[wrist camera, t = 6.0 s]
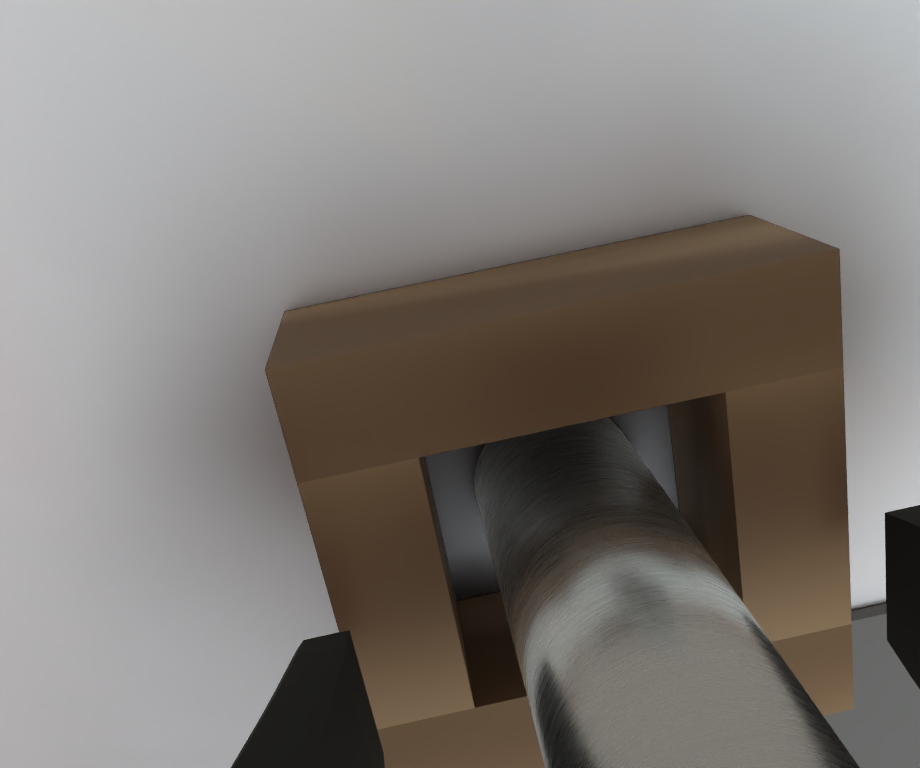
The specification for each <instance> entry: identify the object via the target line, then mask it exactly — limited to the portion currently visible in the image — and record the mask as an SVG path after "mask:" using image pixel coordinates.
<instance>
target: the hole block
mask: <svg viewBox="0 0 920 768" xmlns="http://www.w3.org/2000/svg"><path fill="white" fill-rule="evenodd" d="M265 371H266V375H267V378H268V382H269V386H270V389H271V393H272V396H273V400H274V403H275V407H276V410H277V414H278V417H279V421H280V424H281V428H282V432H283V435H284V439H285V442H286V446H287V449H288V453H289V456H290V460H291V463H292V467H293V470H294V474H295V477H296V481H297V485H298V488H299V492H300V495H301V499H302V502H303V506H304V509H305V513H306V516H307V520H308V523H309V527H310V531H311V534H312V538H313V541H314V545H315V548H316V552H317V555H318V559H319V562H320V566H321V569H322V573H323V576H324V580H325V584H326V587H327V591H328V594H329V598H330V601H331V605H332V608H333V612H334V615H335V619H336V622H337V626H338V630H339V632H343V631H348V630H350V633H351V637H352V641H353V644H354V648H355V651H356V655H357V659H358V662H359V666H360V669H361V673H362V677H363V680H364V684H365V688H366V691H367V695H368V698H369V702H370V706H371V709H372V713H373V716H374V720H375V724H376V727H377V731H378V734H379V738H380V742H381V745H382V749H383V752H384V763H385V768H545V764H544V761H543V757H542V753H541V749H540V745H539V741H538V737H537V733H536V729H535V725H534V721H533V718H532V714H531V710H530V706H529V702H528V698H527V694H526V690H525V686H524V682H523V678H522V675H521V671H520V667H519V663H518V659H517V655H516V651H515V647H514V643H513V639H512V635H511V632H510V628H509V624H508V620H507V616H506V612H505V608H504V604H503V600H502V596H501V592H496V593H492V594H487V595H483V596H478V597H473V598H469V599H464V600H460V601H457V600H456V596H455V591H454V587H453V582H452V578H451V573H450V569H449V564H448V560H447V555H446V551H445V546H444V542H443V537H442V533H441V528H440V524H439V519H438V515H437V510H436V506H435V501H434V497H433V492H432V488H431V483H430V479H429V474H428V470H427V465H426V461H425V456H429V455H434V454H438V453H443V452H448V451H453V450H457V449H462V448H467V447H471V446H476V445H481V444H485V443H490V442H495V441H499V440H504V439H509V438H513V437H518V436H523V435H527V434H532V433H537V432H541V431H546V430H551V429H556V428H560V427H565V426H570V425H574V424H579V423H584V422H588V421H593V420H598V419H602V418H607V417H612V416H616V415H621V414H626V413H630V412H635V411H640V410H644V409H649V408H654V407H659V406H663V405H668V411H669V421H670V430H671V439H672V448H673V457H674V466H675V475H676V484H677V493H678V502H679V511H680V514H681V516H682V517H683V518H684V520H685V521H686V523H687V524H688V525H689V527H690V528H691V530H692V531H693V532H694V534H695V535H696V537H697V538H698V540H699V541H700V542H701V544H702V545H703V547H704V548H705V549H706V551H707V552H708V554H709V555H710V556H711V558H712V559H713V561H714V562H715V564H716V565H717V566H718V568H719V569H720V571H721V572H722V573H723V575H724V576H725V578H726V579H727V580H728V582H729V583H730V585H731V586H732V588H733V589H734V590H735V592H736V593H737V595H738V596H739V597H740V599H741V600H742V602H743V603H744V605H745V606H746V607H747V609H748V610H749V612H750V613H751V614H752V616H753V617H754V619H755V620H756V621H757V623H758V624H759V626H760V627H761V629H762V630H763V631H764V633H765V634H766V636H767V637H768V638H769V640H770V641H771V643H772V644H773V645H774V647H775V648H776V650H777V651H778V653H779V654H780V655H781V657H782V658H783V660H784V661H785V662H786V664H787V665H788V667H789V668H790V669H791V671H792V672H793V674H794V675H795V677H796V678H797V679H798V681H799V682H800V684H801V685H802V686H803V688H804V689H805V691H806V692H807V694H808V695H809V696H810V698H811V699H812V701H813V702H814V703H815V705H816V706H817V708H818V709H819V710H820V712H821V713H822V715H823V716H826V715H830V714H835V713H839V712H843V711H848V710H852V709H854V685H853V654H852V623H851V592H850V562H849V531H848V500H847V469H846V439H845V408H844V377H843V346H842V316H841V285H840V254H839V249H838V248H836V247H833V246H830V245H828V244H825V243H822V242H820V241H817V240H814V239H812V238H809V237H806V236H804V235H801V234H799V233H796V232H793V231H791V230H788V229H785V228H783V227H780V226H777V225H775V224H772V223H769V222H767V221H764V220H762V219H759V218H756V217H754V216H751V215H747V216H742V217H737V218H733V219H728V220H723V221H718V222H713V223H709V224H704V225H699V226H694V227H689V228H684V229H680V230H675V231H670V232H665V233H660V234H656V235H651V236H646V237H641V238H636V239H631V240H627V241H622V242H617V243H612V244H607V245H603V246H598V247H593V248H588V249H583V250H578V251H574V252H569V253H564V254H559V255H554V256H549V257H545V258H540V259H535V260H530V261H525V262H521V263H516V264H511V265H506V266H501V267H496V268H492V269H487V270H482V271H477V272H472V273H468V274H463V275H458V276H453V277H448V278H443V279H439V280H434V281H429V282H424V283H419V284H415V285H410V286H405V287H400V288H395V289H390V290H386V291H381V292H376V293H371V294H366V295H362V296H357V297H352V298H347V299H342V300H337V301H333V302H328V303H323V304H318V305H313V306H309V307H304V308H299V309H294V310H289V311H285V312H284V315H283V318H282V320H281V323H280V326H279V329H278V332H277V335H276V338H275V341H274V344H273V347H272V350H271V353H270V356H269V359H268V362H267V364H266V367H265Z"/></svg>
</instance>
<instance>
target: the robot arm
mask: <svg viewBox="0 0 920 768" xmlns="http://www.w3.org/2000/svg"><path fill="white" fill-rule="evenodd" d="M885 549H886V614H887V641H888V642H889V644H890V646H891V647H892V649H893V650H894V652H895V653H896V655H897V656H898V658H899V659H900V661H901V662H902V664H903V665H904V667H905V669H906V670H907V672H908V673H909V675H910V676H911V678H912V679H913V680H914V682H915V683H916V685H917V686H918V688H919V689H920V505H918V506H914V507H909V508H905V509H900V510H896V511H891V512H886V513H885ZM231 768H385V763H384V752H383V749H382V745H381V742H380V738H379V734H378V731H377V727H376V724H375V720H374V716H373V713H372V709H371V706H370V702H369V698H368V695H367V691H366V688H365V684H364V680H363V677H362V673H361V669H360V666H359V662H358V659H357V655H356V651H355V648H354V644H353V641H352V637H351V633H350V630H348V631H343V632H339V633H334V634H330V635H325V636H321V637H316V638H311V639H307V640H303V642H302V643H301V645H300V646H299V648H298V649H297V651H296V653H295V654H294V656H293V658H292V660H291V662H290V664H289V666H288V668H287V670H286V672H285V673H284V675H283V677H282V679H281V681H280V683H279V685H278V687H277V689H276V690H275V692H274V694H273V696H272V698H271V700H270V701H269V703H268V705H267V707H266V709H265V710H264V712H263V714H262V716H261V718H260V719H259V721H258V723H257V724H256V726H255V728H254V730H253V731H252V733H251V735H250V736H249V738H248V740H247V741H246V743H245V745H244V746H243V748H242V750H241V752H240V753H239V755H238V757H237V758H236V760H235V762H234V763H233V765H232V767H231Z"/></svg>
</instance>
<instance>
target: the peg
mask: <svg viewBox="0 0 920 768" xmlns="http://www.w3.org/2000/svg"><path fill="white" fill-rule="evenodd" d="M474 486H475V495H476V499H477V503H478V506H479V510H480V514H481V518H482V522H483V526H484V530H485V534H486V538H487V542H488V546H489V549H490V553H491V557H492V561H493V565H494V569H495V573H496V577H497V581H498V585H499V589H500V592H501V596H502V600H503V604H504V608H505V612H506V616H507V620H508V624H509V628H510V632H511V635H512V639H513V643H514V647H515V651H516V655H517V659H518V663H519V667H520V671H521V675H522V678H523V682H524V686H525V690H526V694H527V698H528V702H529V706H530V710H531V714H532V718H533V721H534V725H535V729H536V733H537V737H538V741H539V745H540V749H541V753H542V757H543V761H544V764H545V768H860V767H859V766H858V764H857V763H856V761H855V760H854V758H853V757H852V756H851V754H850V753H849V751H848V750H847V749H846V747H845V746H844V744H843V743H842V742H841V740H840V739H839V737H838V736H837V734H836V733H835V732H834V730H833V729H832V727H831V726H830V725H829V723H828V722H827V720H826V719H825V718H824V716H823V715H822V713H821V712H820V710H819V709H818V708H817V706H816V705H815V703H814V702H813V701H812V699H811V698H810V696H809V695H808V694H807V692H806V691H805V689H804V688H803V686H802V685H801V684H800V682H799V681H798V679H797V678H796V677H795V675H794V674H793V672H792V671H791V669H790V668H789V667H788V665H787V664H786V662H785V661H784V660H783V658H782V657H781V655H780V654H779V653H778V651H777V650H776V648H775V647H774V645H773V644H772V643H771V641H770V640H769V638H768V637H767V636H766V634H765V633H764V631H763V630H762V629H761V627H760V626H759V624H758V623H757V621H756V620H755V619H754V617H753V616H752V614H751V613H750V612H749V610H748V609H747V607H746V606H745V605H744V603H743V602H742V600H741V599H740V597H739V596H738V595H737V593H736V592H735V590H734V589H733V588H732V586H731V585H730V583H729V582H728V580H727V579H726V578H725V576H724V575H723V573H722V572H721V571H720V569H719V568H718V566H717V565H716V564H715V562H714V561H713V559H712V558H711V556H710V555H709V554H708V552H707V551H706V549H705V548H704V547H703V545H702V544H701V542H700V541H699V540H698V538H697V537H696V535H695V534H694V532H693V531H692V530H691V528H690V527H689V525H688V524H687V523H686V521H685V520H684V518H683V517H682V516H681V514H680V513H679V511H678V510H677V508H676V507H675V506H674V504H673V503H672V501H671V500H670V499H669V497H668V496H667V494H666V493H665V491H664V490H663V489H662V487H661V486H660V484H659V483H658V482H657V480H656V479H655V477H654V476H653V475H652V473H651V472H650V470H649V469H648V467H647V466H646V465H645V463H644V462H643V460H642V459H641V458H640V456H639V455H638V453H637V452H636V451H635V449H634V448H633V446H632V445H631V443H630V442H629V441H628V439H627V438H626V436H625V435H624V434H623V432H622V431H621V429H620V428H619V427H618V426H617V425H616V424H615V423H614V422H613V421H612V420H611V419H609V418H608V417H607V418H602V419H598V420H593V421H588V422H584V423H579V424H574V425H570V426H565V427H560V428H556V429H551V430H546V431H541V432H537V433H532V434H527V435H523V436H518V437H513V438H509V439H504V440H499V441H495V442H490V443H486V444H485V446H484V447H483V449H482V452H481V454H480V456H479V459H478V462H477V465H476V470H475V479H474Z"/></svg>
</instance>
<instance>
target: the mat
mask: <svg viewBox="0 0 920 768" xmlns="http://www.w3.org/2000/svg"><path fill="white" fill-rule="evenodd" d="M851 623H852V654H853V685H854V709H852V710H848V711H843V712H839V713H835V714H830V715H826V716H824V718H825V719H826V720H827V722H828V723H829V725H830V726H831V727H832V729H833V730H834V732H835V733H836V734H837V736H838V737H839V739H840V740H841V742H842V743H843V744H844V746H845V747H846V749H847V750H848V751H849V753H850V754H851V756H852V757H853V758H854V760H855V761H856V763H857V764H858V766H859V767H860V768H920V689H919V688H918V686H917V685H916V683H915V682H914V680H913V679H912V678H911V676H910V675H909V673H908V672H907V670H906V669H905V667H904V665H903V664H902V662H901V661H900V659H899V658H898V656H897V655H896V653H895V652H894V650H893V649H892V647H891V646H890V644H889V642H888V641H887V614H886V603H885V604H881V605H876V606H872V607H867V608H863V609H858V610H854V611H851Z"/></svg>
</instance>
